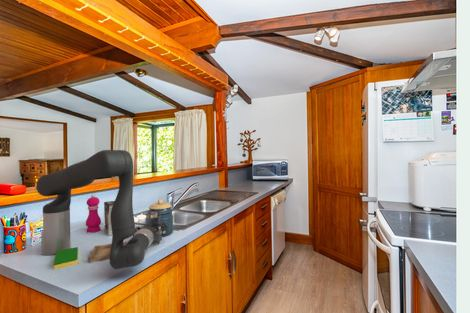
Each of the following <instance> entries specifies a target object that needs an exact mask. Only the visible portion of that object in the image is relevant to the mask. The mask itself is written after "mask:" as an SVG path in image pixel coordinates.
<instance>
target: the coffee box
mask: <svg viewBox="0 0 470 313" xmlns="http://www.w3.org/2000/svg"><path fill="white" fill-rule="evenodd" d="M114 201H115V200H111V201H104V204H103V206H104V208H103V209H104V211H103V212H104V214H103V215H104V233H105V234H106V235H107V236H108V237H109V236H111V237H112V227H111V218H110V216H111V209H112V206H113V204H114Z"/></svg>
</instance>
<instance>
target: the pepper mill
mask: <svg viewBox="0 0 470 313" xmlns="http://www.w3.org/2000/svg"><path fill="white" fill-rule="evenodd" d="M90 196H91V197H89V198H87V200H86V205H87V210H88V216H87V219H86V221H85V226H86V227H87V228H86V233H88V232H89V233H91V232H92V233H96V232H99V231H101V226H100V225H101V224H102V218H101V217H100V215H99V208H100V206H99V204H100V198H98V197H96V196H95V194H91V195H90ZM89 233H88V234H89Z"/></svg>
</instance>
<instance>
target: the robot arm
mask: <svg viewBox="0 0 470 313" xmlns="http://www.w3.org/2000/svg"><path fill="white" fill-rule="evenodd" d="M133 160H134V159H133V157H132V155H131V153H130V152H129V151H128V150H126V149H125V150H123V149H104V150H100V151H98V152H96V153H94V154H93V155H92V156H90V157H88V158H87V159H84V160H81V161H79V162H76V163H73V164H71V165H68V166H67V167H64V168H62V169H60V170H58V171H57V170H56V172H55V171H54V172H53V173H48V174H43V175H41V176H40V177H39V178H38V179H37V181H36V185H35V188H36V191H37V193H38V194H39V195H40V196H43V197H54V196H55V197H56V198H55V199H54V200H52V201H50V202H49V203H45V204H44V205H43V206H42V231H41V234H40V239H41V240H40V241H41V242H40V244H41V247H40V248H41V255H42V256H52V255H56V252H57V251H60V250H65V249H70V248H72V246H71V244H72V243H71V241H72V240H71V202H72V190H75V189H79V188H84V187H87V186H88V185H91V184H92V183H93V182H94V181H95V180H96V179H100V178H101V179H102V178H105V179H106V178H115V177H118V182H119V186H118V191H117V194H116V196H115V200H113V201H114V204H113V206H112V209H111V216H110V218H111V227H112V235H111V238H112V239H111V243H110V244H111V251H110V256H109V259H108V260H109V265H110V266H111V268H113V269H114V270H122V269H126V268H131V267H135V266H136V267H137V266H138V265H140V264H142V263H143V261H144V259H145V252H146V250H147V249H148V248H149V247H150V246H151V245H152V244H151V243H152V242H153V241H154V239H155V238H156V235H158V234H160V233H162V235H165V234H166V233H167V231H168V229H167V225H166V224H165V223H163V224H162V225H161V226H155V227H151V226H146V223H145V224H143V225H141V226H139V225H138V226H136V224H135V216H134V209H133V208H134V207H133V194H134V193H133V191H134V190H133V189H134V161H133ZM160 228H161V230H160ZM128 238H129V240H128V241H127V244H126V245H124V246H123V242H125V240H127V239H128Z"/></svg>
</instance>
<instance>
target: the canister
mask: <svg viewBox="0 0 470 313" xmlns="http://www.w3.org/2000/svg"><path fill="white" fill-rule="evenodd" d="M148 208H149V209H148V210H147V211H146V213H147V217H148V216H149V215H150V213H151V212H157V214H159V215H162V224H163V223H165V224H166V225H167V229H168V231H167V233H166V234H165V235H162V238H164V237H167V236H168V237H169V236H170V235H172V234H173V233H174V230H175V229H174V214H173V212H174V208H172V204H170V203H169V202H164V200H163V199H158V200H157V202H155V203H152V204H150V205H149V206H148Z"/></svg>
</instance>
